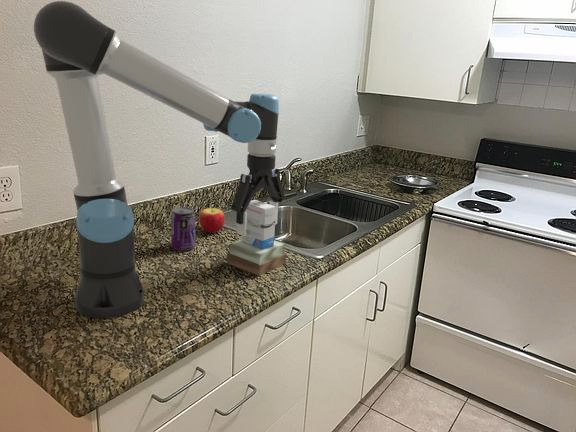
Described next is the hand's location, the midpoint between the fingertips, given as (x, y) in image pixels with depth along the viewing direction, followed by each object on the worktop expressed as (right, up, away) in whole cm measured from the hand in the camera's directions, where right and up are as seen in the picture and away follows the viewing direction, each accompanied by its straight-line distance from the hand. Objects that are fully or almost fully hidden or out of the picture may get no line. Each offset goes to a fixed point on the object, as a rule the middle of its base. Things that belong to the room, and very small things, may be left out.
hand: (257, 228), depth 136 cm
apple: (-17, -2, +25) cm, 30 cm away
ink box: (0, -4, +2) cm, 5 cm away
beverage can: (-23, -6, +11) cm, 26 cm away
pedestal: (-1, -10, +3) cm, 11 cm away
